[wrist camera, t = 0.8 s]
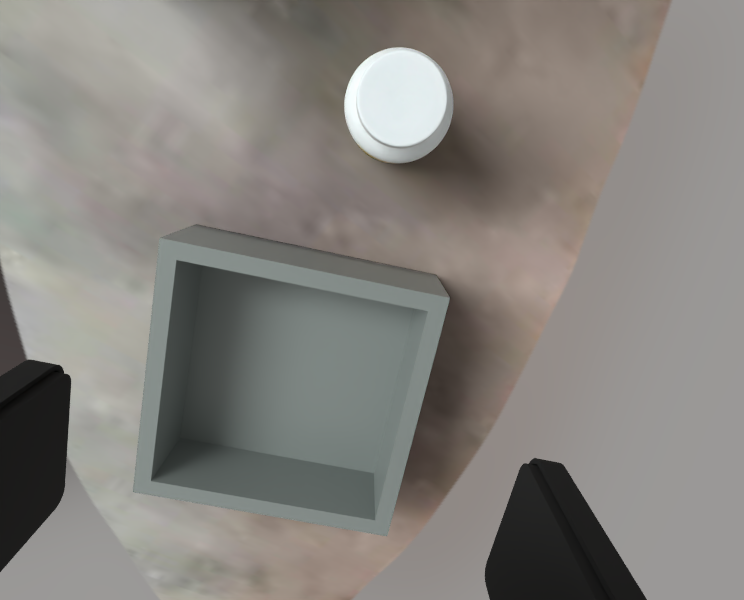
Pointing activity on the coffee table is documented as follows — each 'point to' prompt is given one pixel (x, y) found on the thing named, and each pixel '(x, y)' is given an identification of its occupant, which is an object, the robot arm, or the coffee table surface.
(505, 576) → the robot arm
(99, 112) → the coffee table surface
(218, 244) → the tote
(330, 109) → the coffee table surface
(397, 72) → the supplement bottle
